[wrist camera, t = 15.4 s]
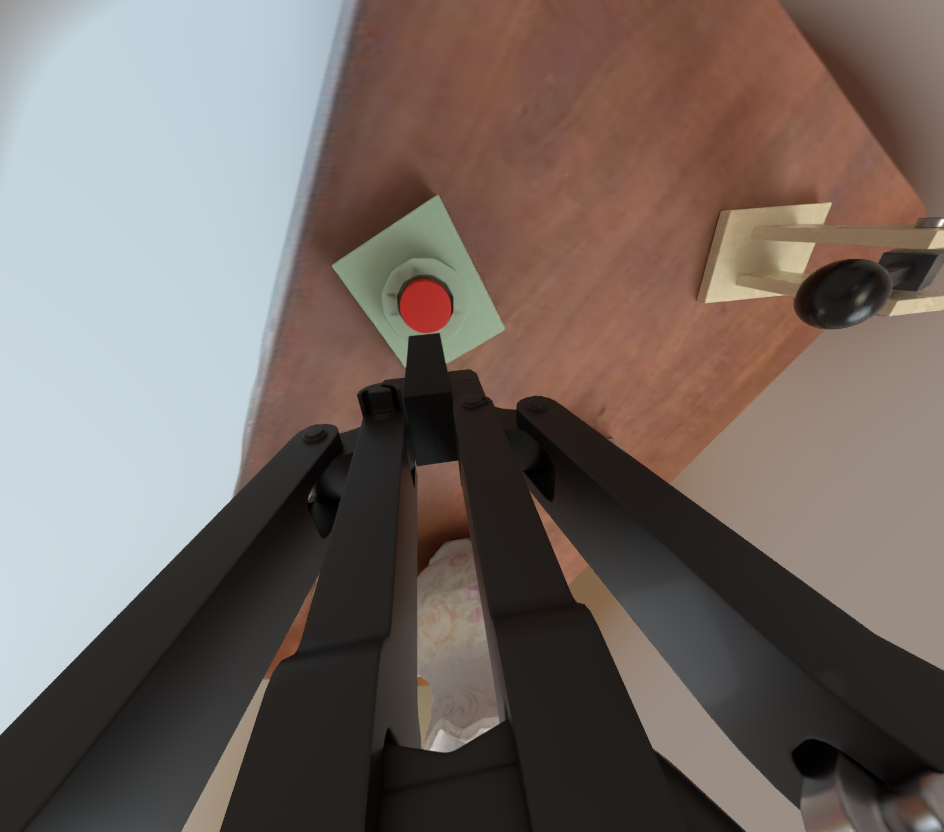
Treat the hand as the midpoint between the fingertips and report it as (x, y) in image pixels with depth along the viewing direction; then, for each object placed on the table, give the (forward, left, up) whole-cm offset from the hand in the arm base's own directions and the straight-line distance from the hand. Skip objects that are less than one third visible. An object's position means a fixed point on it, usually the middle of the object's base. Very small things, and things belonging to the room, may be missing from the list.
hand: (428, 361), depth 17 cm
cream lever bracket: (+13, +30, -17) cm, 37 cm away
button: (0, 0, -13) cm, 13 cm away
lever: (+10, +25, -4) cm, 27 cm away
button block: (0, 0, -17) cm, 17 cm away
